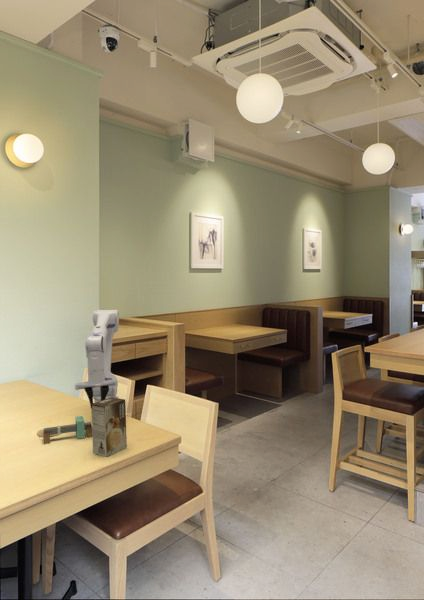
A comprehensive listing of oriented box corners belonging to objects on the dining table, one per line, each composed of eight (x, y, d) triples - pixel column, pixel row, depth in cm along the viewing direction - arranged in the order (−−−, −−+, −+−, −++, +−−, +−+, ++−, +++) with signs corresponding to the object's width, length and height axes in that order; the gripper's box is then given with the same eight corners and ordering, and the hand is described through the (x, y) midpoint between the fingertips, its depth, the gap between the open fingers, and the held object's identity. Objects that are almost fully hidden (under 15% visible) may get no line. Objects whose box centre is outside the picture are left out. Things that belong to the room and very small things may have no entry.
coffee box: (113, 443, 144) (112, 396, 144) (127, 447, 141) (126, 399, 140) (92, 453, 137) (90, 403, 136) (106, 457, 133) (105, 406, 132)
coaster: (62, 426, 161) (62, 425, 161) (64, 434, 153) (64, 433, 153) (36, 430, 158) (36, 429, 158) (37, 438, 149) (37, 437, 149)
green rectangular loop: (82, 432, 155) (82, 415, 155) (84, 437, 149) (84, 420, 149) (75, 433, 154) (75, 416, 154) (77, 439, 148) (77, 421, 148)
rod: (91, 432, 155) (90, 420, 155) (92, 436, 151) (92, 424, 151) (43, 438, 149) (43, 426, 149) (43, 443, 145) (43, 431, 144)
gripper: (75, 373, 146) (76, 413, 147) (118, 370, 152) (119, 408, 153) (74, 369, 153) (75, 407, 153) (115, 366, 158) (116, 402, 159)
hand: (97, 407), depth 153 cm, fingers open, 3 cm apart
